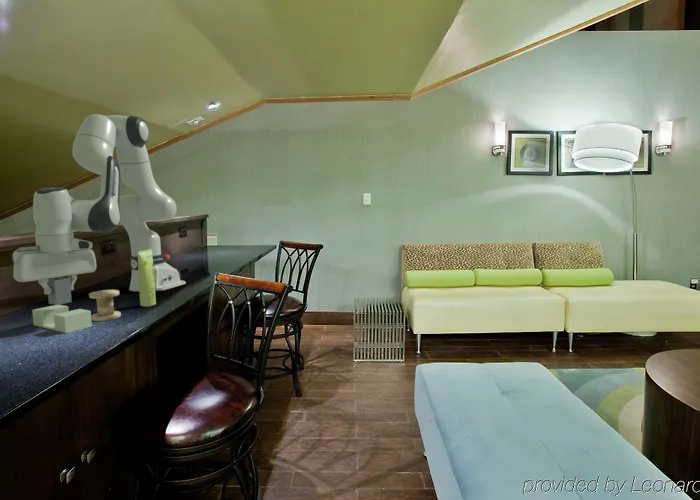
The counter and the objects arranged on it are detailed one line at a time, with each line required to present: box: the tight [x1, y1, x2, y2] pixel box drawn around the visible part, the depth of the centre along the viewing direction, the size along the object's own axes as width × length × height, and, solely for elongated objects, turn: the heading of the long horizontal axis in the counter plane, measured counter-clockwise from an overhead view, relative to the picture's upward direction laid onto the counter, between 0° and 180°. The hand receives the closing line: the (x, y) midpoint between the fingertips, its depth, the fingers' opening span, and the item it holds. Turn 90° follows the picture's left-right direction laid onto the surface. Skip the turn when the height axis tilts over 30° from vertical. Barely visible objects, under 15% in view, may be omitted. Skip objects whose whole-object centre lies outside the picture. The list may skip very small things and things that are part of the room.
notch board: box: [32, 304, 93, 334], centre depth 117 cm, size 7×16×5 cm, turn 63°
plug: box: [46, 276, 72, 306], centre depth 116 cm, size 4×4×8 cm
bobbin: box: [88, 289, 122, 322], centre depth 125 cm, size 8×8×8 cm
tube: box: [138, 249, 157, 308], centre depth 139 cm, size 6×5×20 cm
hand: (59, 292), depth 116 cm, fingers closed on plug, 4 cm apart
